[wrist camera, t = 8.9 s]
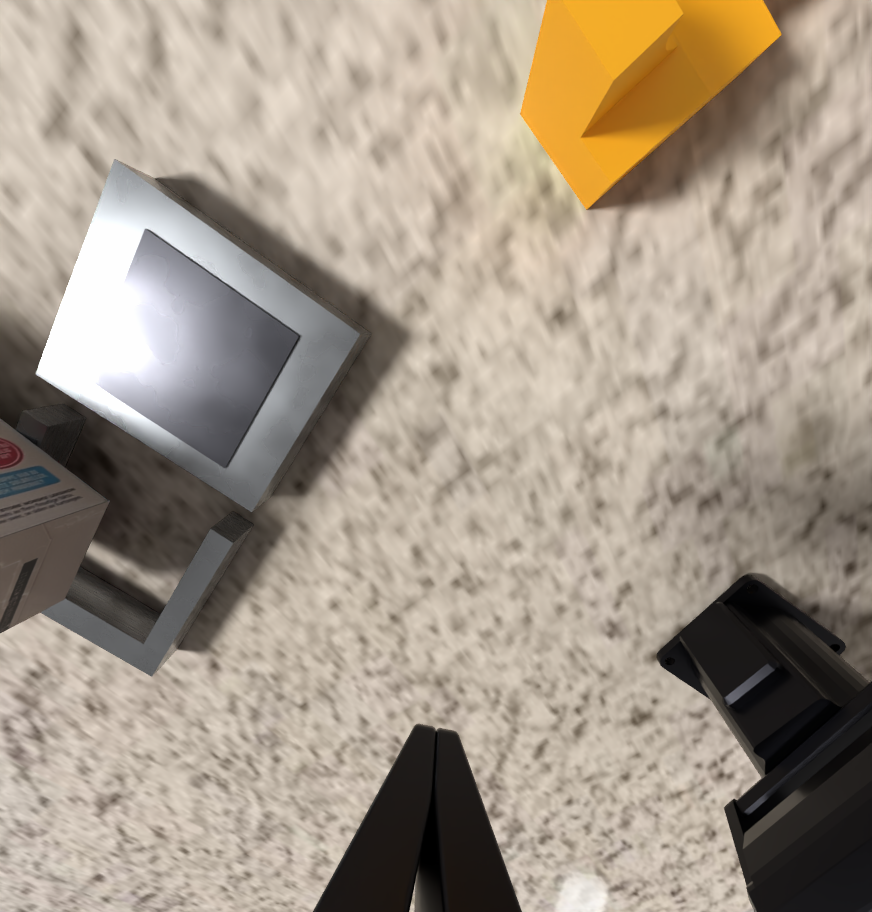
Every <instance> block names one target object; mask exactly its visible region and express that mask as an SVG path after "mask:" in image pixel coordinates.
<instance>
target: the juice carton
mask: <svg viewBox="0 0 872 912" xmlns="http://www.w3.org/2000/svg"><path fill="white" fill-rule="evenodd" d="M109 502H110V501H109V500H107V499H106V498H105V497H103V496H102V495H101V494H99V493H98V492H97V491H96V490H94V489H93V488H92V487H90V486H89V485H88V484H86V483H85V482H84V481H82V480H81V479H80V478H78V477H77V476H76V475H74V474H73V473H72V472H70V471H69V470H68V469H66V468H65V467H64V466H63V465H61V464H60V463H59V462H57V461H56V460H55V459H53V458H52V457H51V456H49V455H48V454H47V453H45V452H44V451H43V450H41V449H40V448H39V447H37V446H36V445H35V444H33V443H32V442H31V441H29V440H28V439H27V438H26V437H24V436H23V435H22V434H20V433H19V432H18V431H16V430H15V429H14V428H12V427H11V426H10V425H8V424H7V423H6V422H4V421H3V420H2V419H0V633H2V632H4V631H6V630H7V629H9V628H11V627H13V626H15V625H17V624H19V623H21V622H23V621H25V620H27V619H28V618H30V617H32V616H34V615H36V614H38V613H40V612H42V611H44V610H46V609H48V608H49V607H51V606H53V605H55V604H57V603H59V602H61V601H63V600H64V599H65V597H66V595H67V593H68V591H69V588H70V586H71V584H72V582H73V580H74V578H75V575H76V573H77V571H78V569H79V567H80V565H81V562H82V560H83V558H84V556H85V554H86V552H87V549H88V547H89V545H90V543H91V541H92V539H93V537H94V534H95V532H96V530H97V528H98V526H99V524H100V521H101V519H102V517H103V515H104V513H105V511H106V508H107V506H108V504H109Z"/></svg>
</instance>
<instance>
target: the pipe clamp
mask: <svg viewBox="0 0 872 912" xmlns="http://www.w3.org/2000/svg"><path fill="white" fill-rule="evenodd" d="M781 35H782V34H781V32H780V30H779V29H778V27H777V25H776V23H775V21H774V19H773V18H772V16H771V14H770V12H769V10H768V9H767V7H766V5H765V3H764V1H763V0H547V3H546V7H545V12H544V16H543V20H542V24H541V28H540V33H539V37H538V41H537V45H536V50H535V54H534V58H533V62H532V66H531V71H530V75H529V79H528V83H527V88H526V92H525V96H524V100H523V104H522V109H521V113H520V115H521V116H522V118H523V119H524V120H525V122H526V123H527V125H528V126H529V128H530V129H531V131H532V132H533V133H534V135H535V136H536V138H537V139H538V141H539V142H540V143H541V145H542V146H543V148H544V149H545V151H546V152H547V154H548V155H549V156H550V158H551V159H552V161H553V162H554V164H555V165H556V167H557V168H558V169H559V171H560V172H561V174H562V175H563V177H564V178H565V179H566V181H567V182H568V184H569V185H570V187H571V188H572V190H573V191H574V192H575V194H576V195H577V197H578V198H579V200H580V201H581V203H582V204H583V205H584V207H585V208H586V210H587V209H588V208H589V207H590V206H592V205H593V204H594V203H595V202H596V201H597V200H598V199H600V198H601V197H602V196H603V195H604V194H605V193H606V192H607V191H609V190H610V189H611V188H612V187H613V186H614V185H615V184H616V183H618V182H619V181H620V180H621V179H622V178H623V177H624V176H626V175H627V174H628V173H629V172H630V171H631V170H632V169H633V168H635V167H636V166H637V165H638V164H639V163H640V162H641V161H642V160H644V159H645V158H646V157H647V156H648V155H649V154H650V153H652V152H653V151H654V150H655V149H656V148H657V147H658V146H659V145H661V144H662V143H663V142H664V141H665V140H666V139H667V138H669V137H670V136H671V135H672V134H673V133H674V132H675V131H676V130H678V129H679V128H680V127H681V126H682V125H683V124H684V123H685V122H687V121H688V120H689V119H690V118H691V117H692V116H693V115H695V114H696V113H697V112H698V111H699V110H700V109H701V108H702V107H704V106H705V105H706V104H707V103H708V102H709V101H710V100H711V99H713V98H714V97H715V96H716V95H717V94H718V93H719V92H721V91H722V90H723V89H724V88H725V87H726V86H727V85H728V84H730V83H731V82H732V81H733V80H734V79H735V78H736V77H737V76H739V75H740V74H741V73H742V72H743V71H744V70H745V69H746V68H747V67H748V66H749V65H750V64H751V63H752V62H753V61H754V60H755V59H757V58H758V57H759V56H760V55H761V54H762V53H763V52H764V51H765V50H766V49H767V48H768V47H769V46H770V45H771V44H772V43H773V42H774V41H776V40H777V39H778V38H779V37H780V36H781Z"/></svg>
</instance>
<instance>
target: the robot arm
mask: <svg viewBox="0 0 872 912" xmlns="http://www.w3.org/2000/svg"><path fill="white" fill-rule="evenodd" d="M750 585H752V587H750V588H748V586H750ZM747 588H748V589H747ZM845 647H846V646H845V643H844V642H843V641H842V640H841V639H839V638H838V637H837V636H836V635H834V634H833V633H832V632H830V631H829V630H827V629H826V628H825V627H823V626H822V625H821V624H819V623H818V622H816V621H815V620H814V619H812V618H811V617H810V616H808V615H807V614H805V613H804V612H803V611H801V610H800V609H799V608H797V607H796V606H794V605H793V604H792V603H790V602H789V601H787V600H786V599H785V598H783V597H782V596H781V595H779V594H778V593H776V592H775V591H774V590H772V589H771V588H770V587H768V586H767V585H765V584H764V583H763V582H761V581H760V580H759V579H757V578H756V577H754V576H750V575H747V576H743V577H742V578H740V579H739V580H738V581H737V582H736V583H734V584H733V585H732V586H731V587H730V588H729V589H728V590H727V591H726V592H724V593H723V594H722V595H721V596H720V597H719V598H718V599H717V600H715V601H714V602H713V603H712V604H711V605H710V606H709V607H708V608H707V609H705V610H704V611H703V612H702V613H701V614H700V615H699V616H698V617H696V618H695V619H694V620H693V621H692V622H691V623H690V624H689V625H688V626H686V627H685V628H684V629H683V630H682V631H681V632H680V633H679V634H677V635H676V636H675V637H674V638H673V639H672V640H671V641H670V642H669V643H667V644H666V645H665V646H664V647H663V648H662V649H661V650H660V651H659V652H658V653H657V660H658V661H659V663H660V665H661V666H662V667H663V668H664V669H666V670H667V671H669V672H670V673H672V674H673V675H675V676H676V677H678V678H679V679H681V680H682V681H684V682H685V683H687V684H688V685H690V686H691V687H693V688H694V689H696V690H697V691H699V692H700V693H701V694H703V695H704V696H706V697H707V698H709V699H710V700H711V701H712V702H713V704H714V705H715V707H716V708H717V710H718V711H719V713H720V715H721V716H722V718H723V719H724V721H725V722H726V724H727V725H728V727H729V728H730V730H731V731H732V733H733V734H734V736H735V737H736V739H737V741H738V742H739V744H740V745H741V747H742V748H743V750H744V751H745V753H746V754H747V756H748V757H749V759H750V760H751V762H752V763H753V765H754V767H755V768H756V770H757V771H758V773H759V774H760V776H761V777H762V778H761V779H760V780H759V781H758V782H757V783H756V784H755V785H753V786H752V787H751V788H750V789H749V790H748V791H747V792H745V793H744V794H743V795H742V796H741V797H740V798H739V799H738V800H735V799H733V800H732V801H731V802H729V803H728V804H727V805H726V806H725V807H724V810H725V813H726V817H727V820H728V823H729V827H730V830H731V834H732V837H733V841H734V844H735V847H736V851H737V854H738V858H739V861H740V864H741V868H742V871H743V875H744V878H745V882H746V885H747V892H748V897H749V900H750V903H751V905H752V907H753V909H754V912H872V682H869V681H867V680H866V679H865V678H864V677H863V676H862V675H861V674H859V673H858V672H857V671H856V670H855V669H854V668H853V667H851V666H850V665H849V664H848V663H847V662H846V661H845V660H843V659H842V658H841V657H840V656H839V655H840V654H841V653H842V652H843V651H844V650H845ZM670 657H671V658H670ZM667 658H670V659H668V660H666V659H667ZM415 881H416V883H415ZM414 885H415V912H522V911H521V908H520V905H519V902H518V900H517V897H516V894H515V891H514V888H513V886H512V883H511V880H510V877H509V874H508V872H507V869H506V866H505V863H504V860H503V858H502V855H501V852H500V849H499V846H498V844H497V841H496V838H495V835H494V832H493V830H492V827H491V824H490V821H489V818H488V816H487V813H486V810H485V807H484V804H483V802H482V799H481V796H480V793H479V790H478V788H477V785H476V782H475V779H474V776H473V774H472V771H471V768H470V765H469V762H468V760H467V757H466V754H465V751H464V748H463V746H462V743H461V740H460V737H459V735H458V733H457V732H456V731H452V730H448V729H443V728H439V729H437V730H436V729H435V728H434V727H433V726H428V725H423V724H416V725H415V726H414V728H413V730H412V731H411V733H410V735H409V737H408V739H407V740H406V742H405V744H404V746H403V748H402V750H401V751H400V753H399V755H398V757H397V759H396V761H395V762H394V764H393V766H392V768H391V770H390V772H389V773H388V775H387V777H386V779H385V781H384V783H383V784H382V786H381V788H380V790H379V792H378V794H377V795H376V797H375V799H374V801H373V803H372V805H371V806H370V808H369V810H368V812H367V814H366V816H365V817H364V819H363V821H362V823H361V825H360V827H359V828H358V830H357V832H356V834H355V836H354V837H353V839H352V841H351V843H350V845H349V847H348V848H347V850H346V852H345V854H344V856H343V858H342V859H341V861H340V863H339V865H338V867H337V869H336V870H335V872H334V874H333V876H332V878H331V880H330V881H329V883H328V885H327V887H326V889H325V891H324V892H323V894H322V896H321V898H320V900H319V902H318V903H317V905H316V907H315V909H314V911H313V912H409V910H410V905H411V900H412V895H413V890H414Z"/></svg>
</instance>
